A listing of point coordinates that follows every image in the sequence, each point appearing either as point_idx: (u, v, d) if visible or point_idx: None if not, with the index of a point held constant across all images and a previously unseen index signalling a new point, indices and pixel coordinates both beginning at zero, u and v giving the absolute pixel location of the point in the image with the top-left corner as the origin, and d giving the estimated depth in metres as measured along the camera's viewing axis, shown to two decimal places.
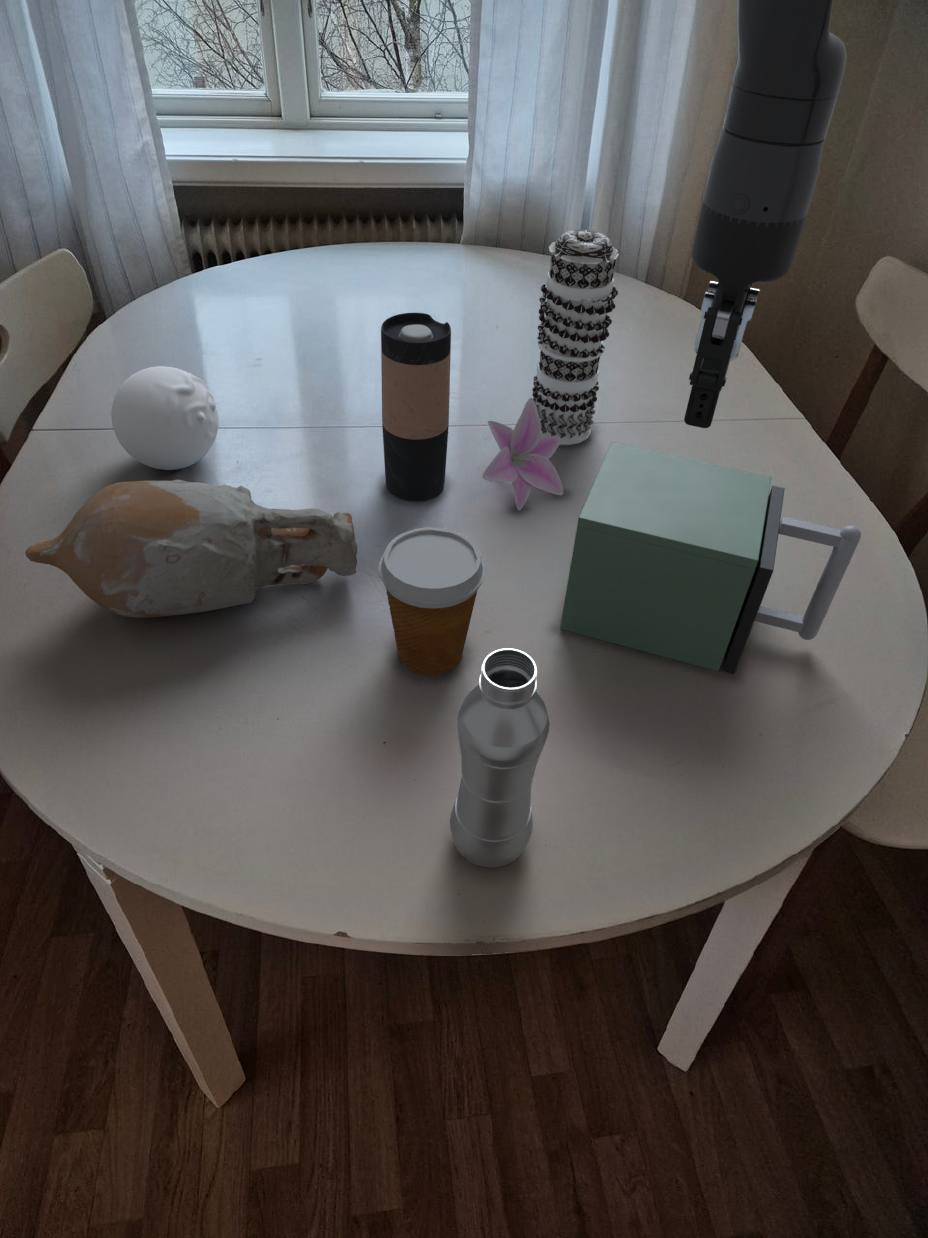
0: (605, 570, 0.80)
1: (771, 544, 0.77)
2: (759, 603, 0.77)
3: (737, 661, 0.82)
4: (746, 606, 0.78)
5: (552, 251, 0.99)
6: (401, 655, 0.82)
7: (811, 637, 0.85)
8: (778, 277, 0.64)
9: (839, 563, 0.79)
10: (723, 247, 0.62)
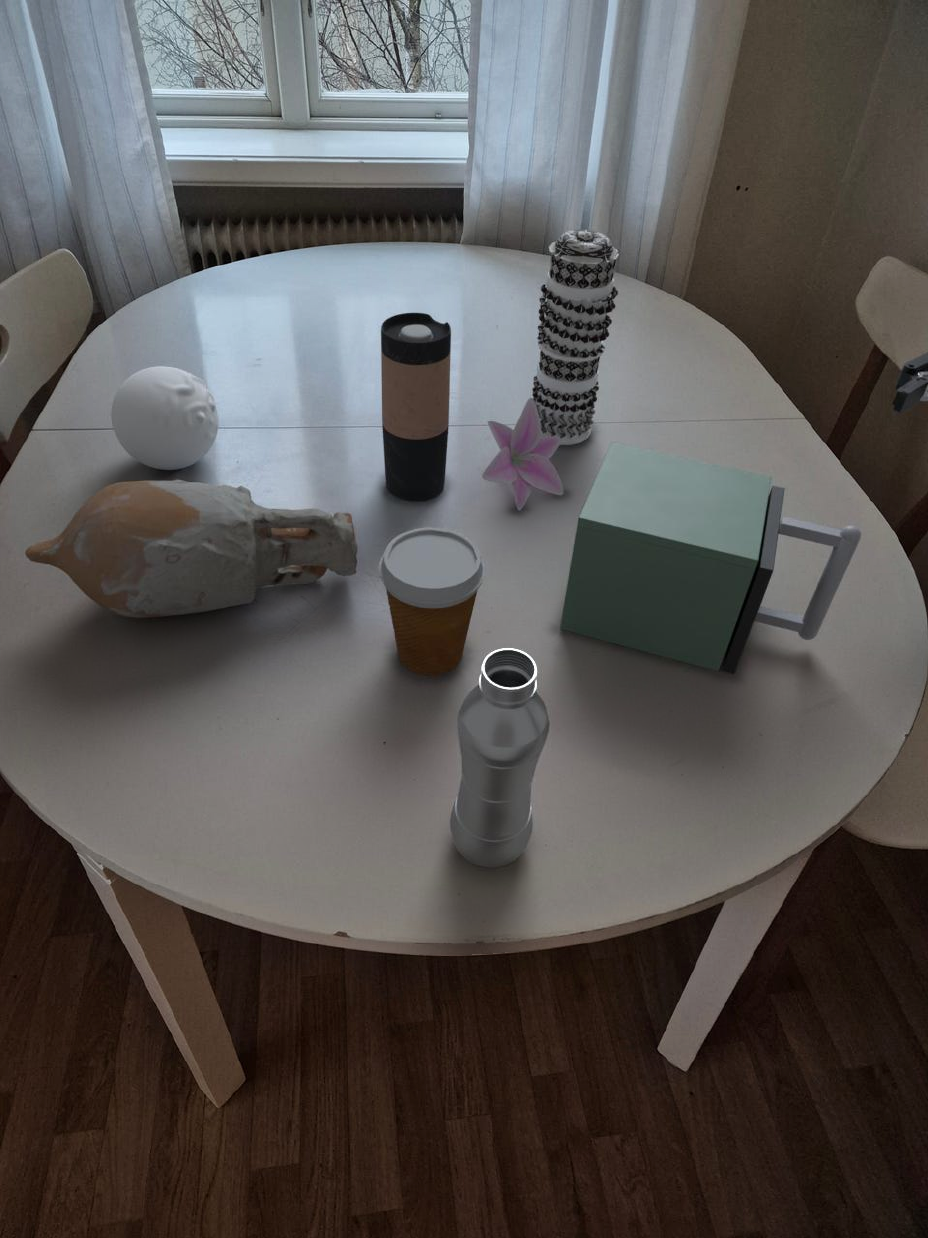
0: (605, 570, 0.80)
1: (771, 544, 0.77)
2: (759, 603, 0.77)
3: (737, 661, 0.82)
4: (746, 606, 0.78)
5: (552, 251, 0.99)
6: (401, 655, 0.82)
7: (811, 637, 0.85)
8: None
9: (839, 563, 0.79)
10: None
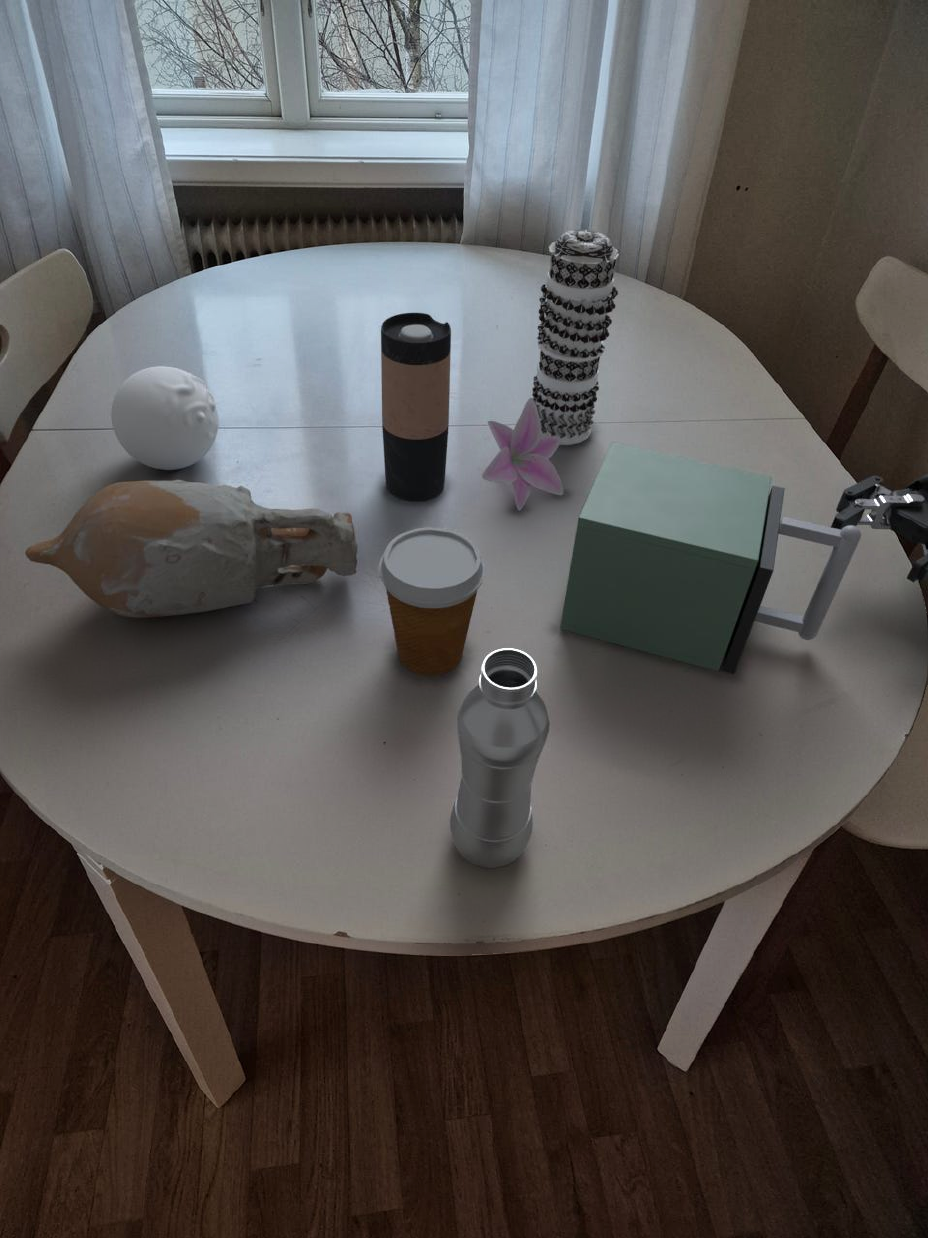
0: (605, 570, 0.80)
1: (771, 544, 0.77)
2: (759, 603, 0.77)
3: (737, 661, 0.82)
4: (746, 606, 0.78)
5: (552, 251, 0.99)
6: (401, 655, 0.82)
7: (811, 637, 0.85)
8: None
9: (839, 563, 0.79)
10: None
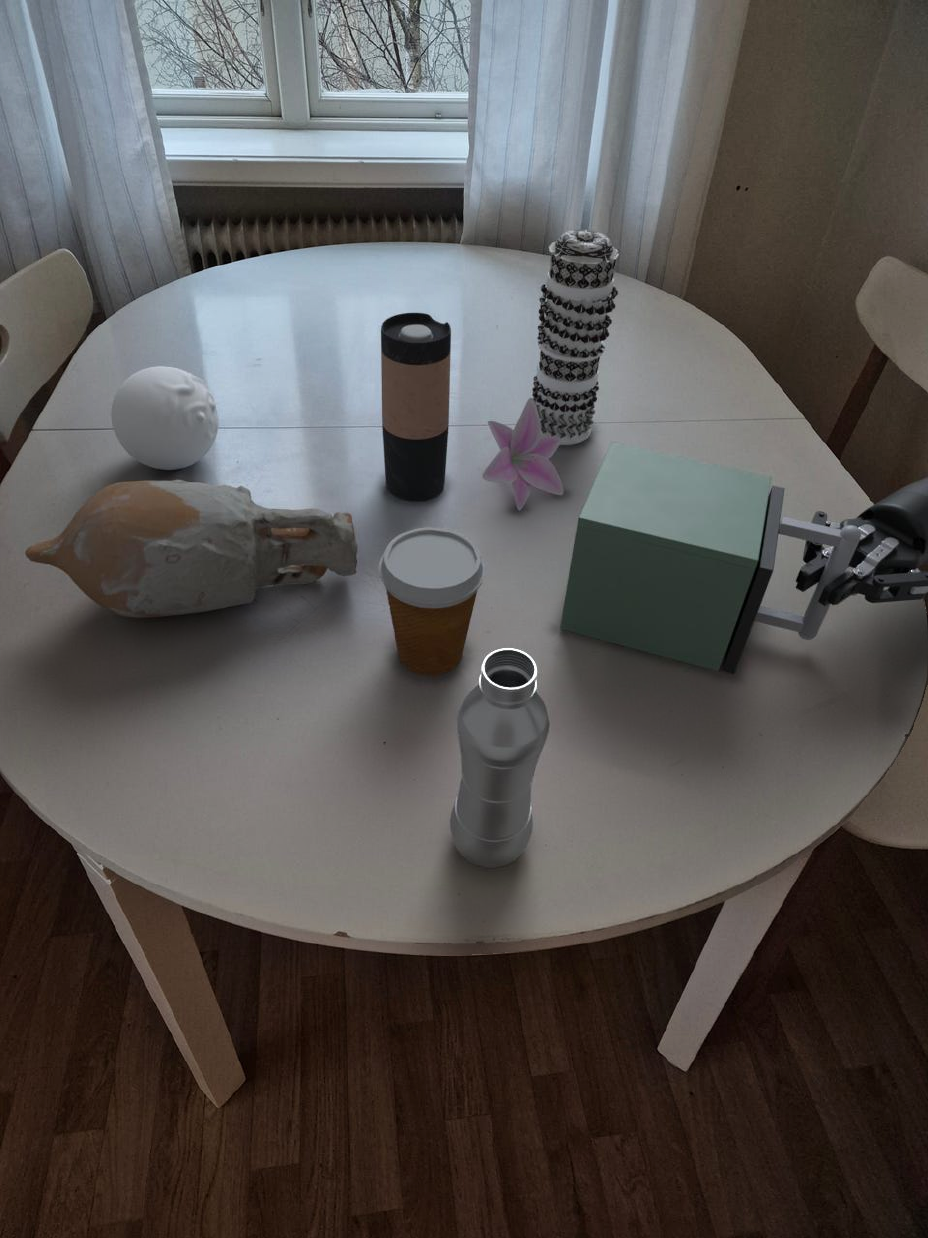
0: (605, 570, 0.80)
1: (771, 544, 0.77)
2: (759, 603, 0.77)
3: (737, 661, 0.82)
4: (746, 606, 0.78)
5: (552, 251, 0.99)
6: (401, 655, 0.82)
7: (811, 637, 0.85)
8: (882, 504, 0.85)
9: (839, 563, 0.79)
10: None
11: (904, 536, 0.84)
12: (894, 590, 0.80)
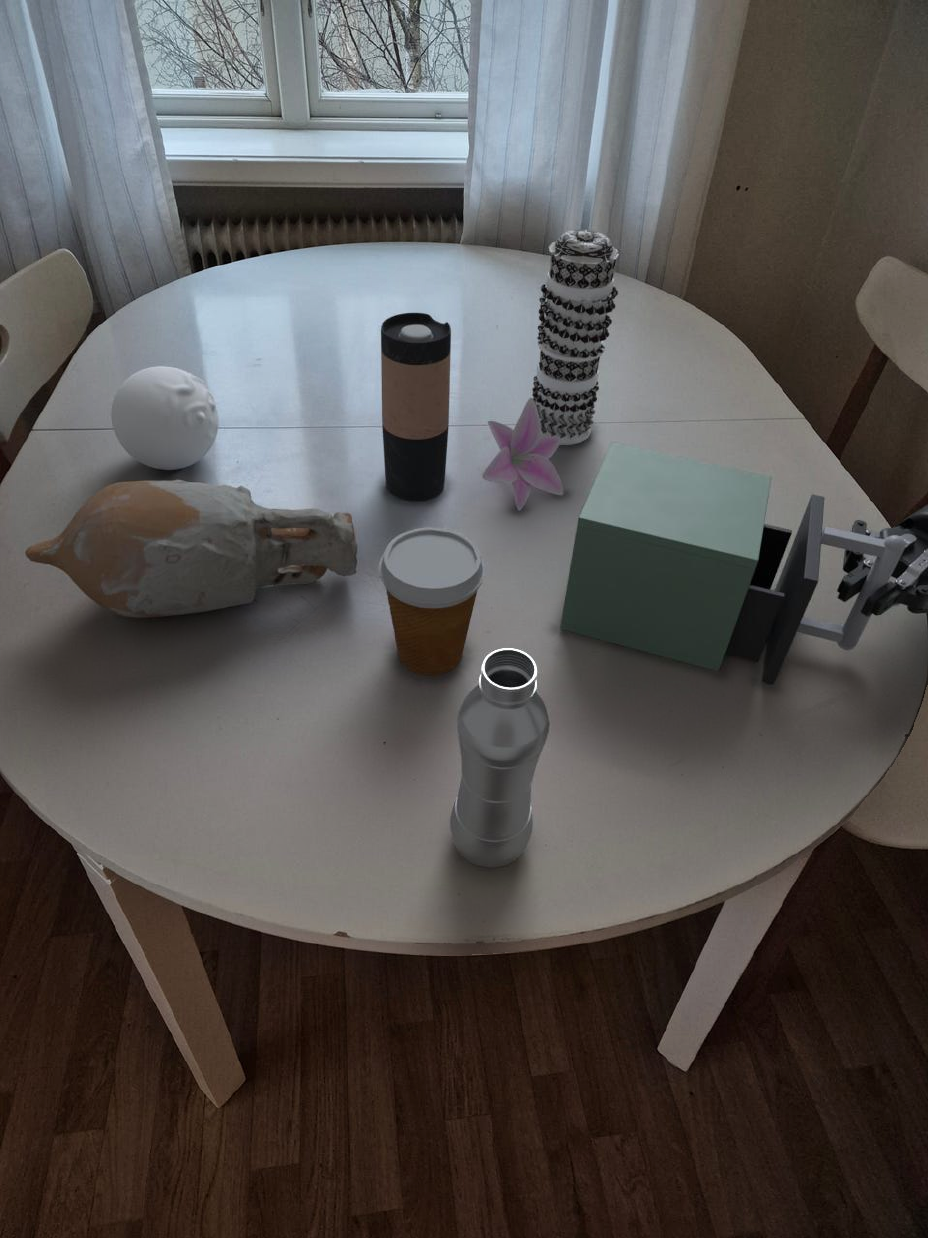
0: (605, 570, 0.80)
1: (814, 554, 0.77)
2: (802, 614, 0.77)
3: (777, 672, 0.82)
4: (789, 617, 0.77)
5: (552, 251, 0.99)
6: (401, 655, 0.82)
7: (851, 647, 0.84)
8: (922, 513, 0.84)
9: (882, 573, 0.78)
10: None
11: None
12: None
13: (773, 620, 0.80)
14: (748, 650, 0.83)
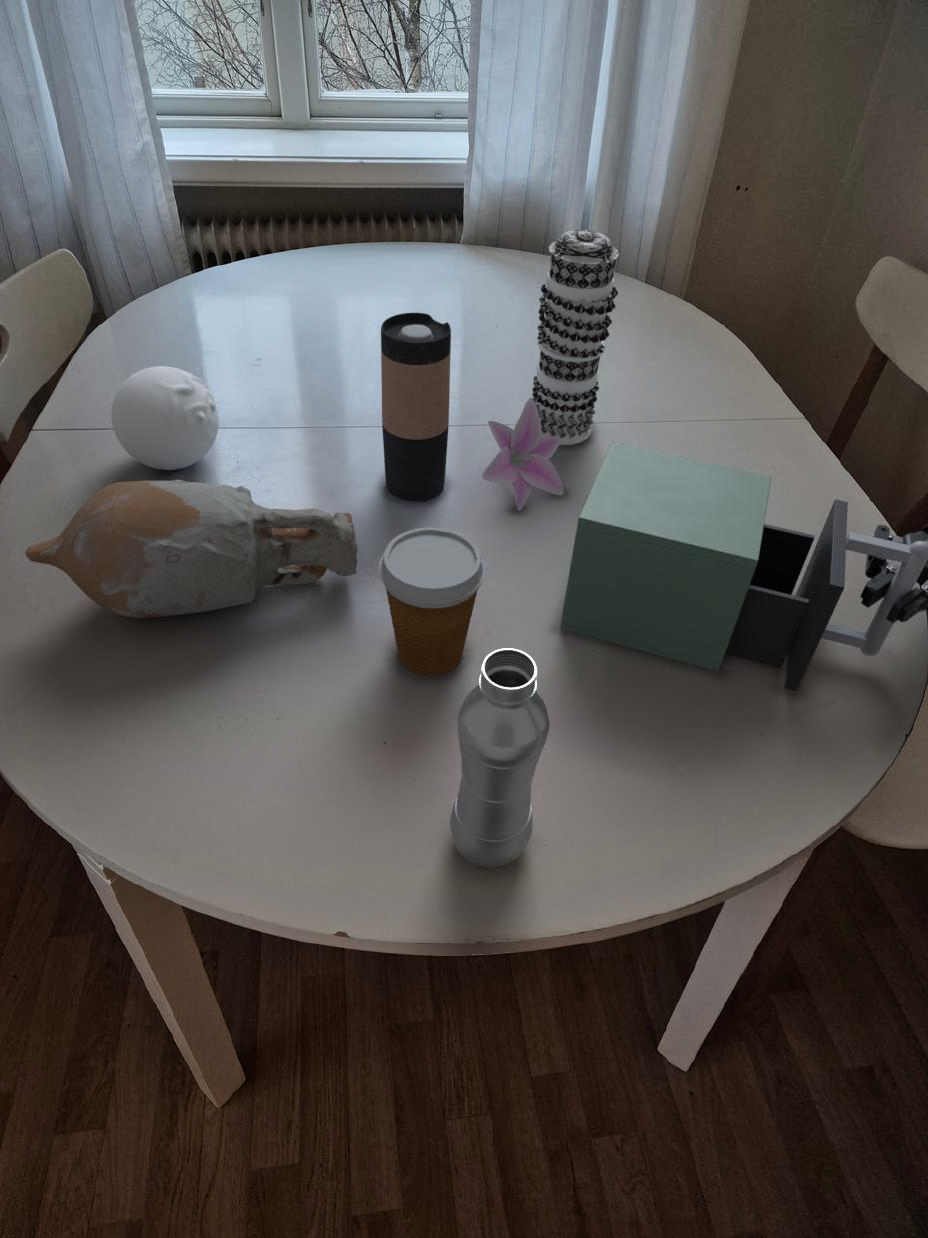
0: (605, 570, 0.80)
1: (839, 560, 0.76)
2: (827, 620, 0.76)
3: (801, 678, 0.81)
4: (813, 623, 0.77)
5: (552, 251, 0.99)
6: (401, 655, 0.82)
7: (874, 653, 0.84)
8: None
9: (907, 579, 0.77)
10: None
11: None
12: None
13: (797, 626, 0.79)
14: (771, 656, 0.82)
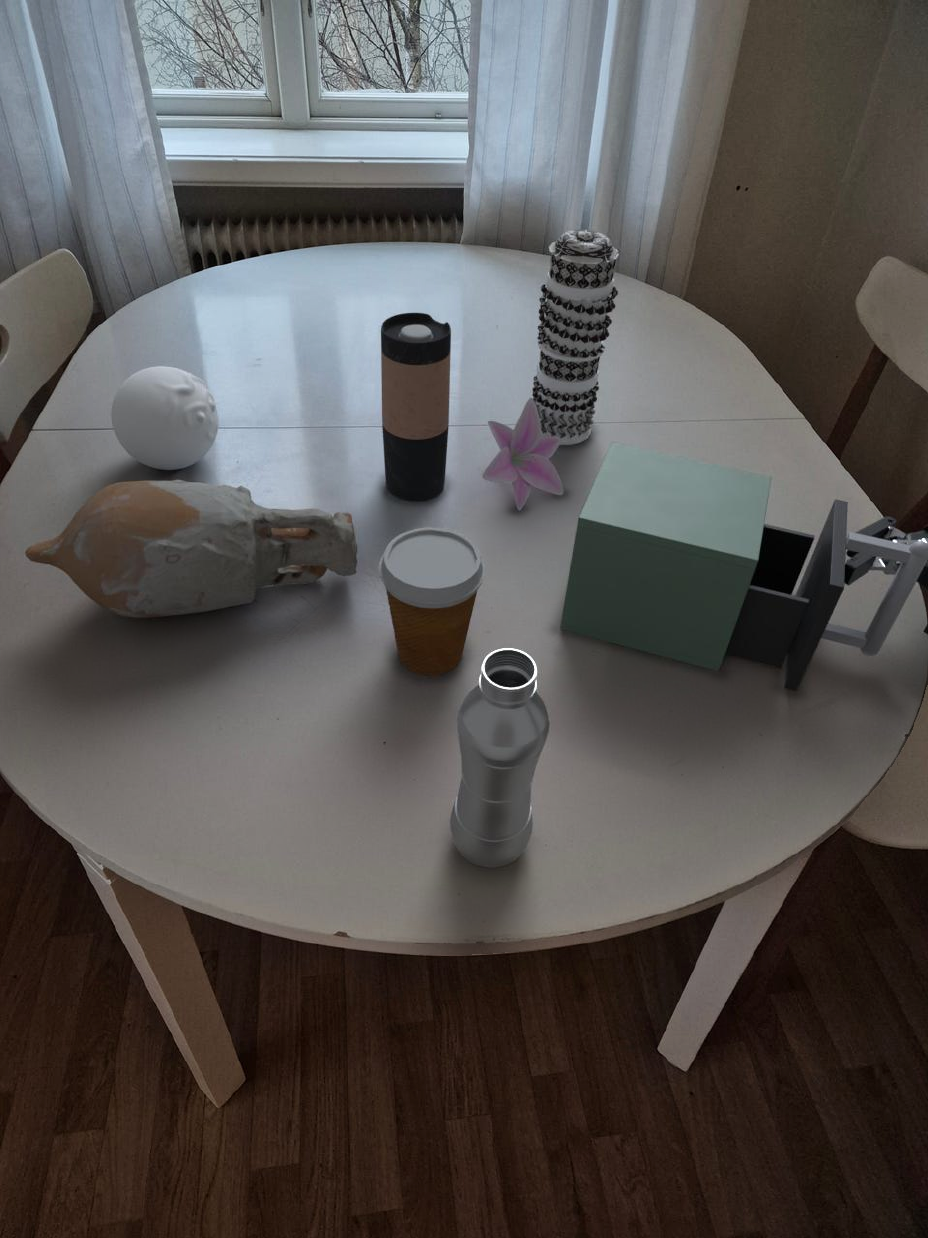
0: (605, 570, 0.80)
1: (839, 560, 0.76)
2: (827, 620, 0.76)
3: (801, 678, 0.81)
4: (813, 623, 0.77)
5: (552, 251, 0.99)
6: (401, 655, 0.82)
7: (874, 653, 0.84)
8: None
9: (907, 579, 0.77)
10: None
11: None
12: None
13: (797, 626, 0.79)
14: (771, 656, 0.82)
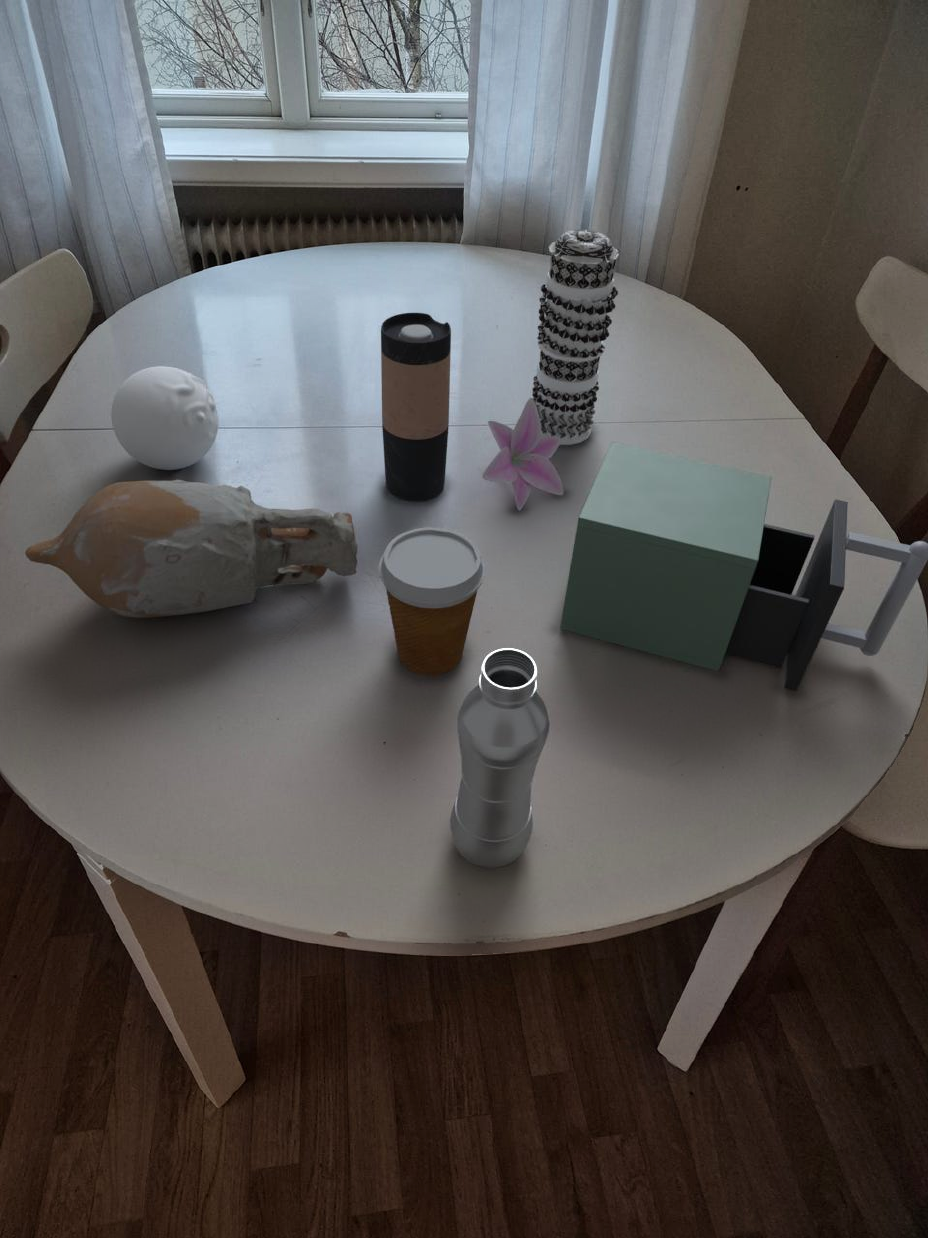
0: (605, 570, 0.80)
1: (839, 560, 0.76)
2: (827, 620, 0.76)
3: (801, 678, 0.81)
4: (813, 623, 0.77)
5: (552, 251, 0.99)
6: (401, 655, 0.82)
7: (874, 653, 0.84)
8: None
9: (907, 579, 0.77)
10: None
11: None
12: None
13: (797, 626, 0.79)
14: (771, 656, 0.82)
